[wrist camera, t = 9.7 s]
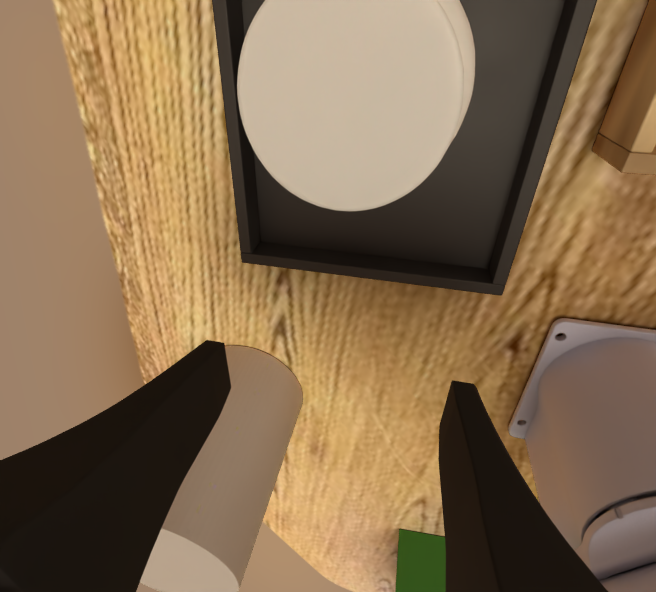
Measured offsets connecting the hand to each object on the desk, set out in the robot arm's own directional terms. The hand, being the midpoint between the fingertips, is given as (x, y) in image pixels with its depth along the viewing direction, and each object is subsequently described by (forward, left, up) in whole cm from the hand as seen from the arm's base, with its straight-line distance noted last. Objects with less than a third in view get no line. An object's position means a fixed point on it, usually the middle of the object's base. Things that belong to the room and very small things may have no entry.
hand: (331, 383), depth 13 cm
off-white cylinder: (-13, +8, -11) cm, 19 cm away
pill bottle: (+8, 0, -10) cm, 13 cm away
